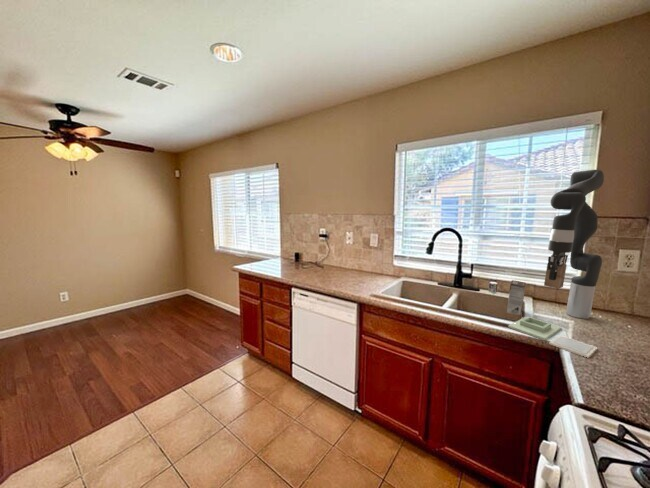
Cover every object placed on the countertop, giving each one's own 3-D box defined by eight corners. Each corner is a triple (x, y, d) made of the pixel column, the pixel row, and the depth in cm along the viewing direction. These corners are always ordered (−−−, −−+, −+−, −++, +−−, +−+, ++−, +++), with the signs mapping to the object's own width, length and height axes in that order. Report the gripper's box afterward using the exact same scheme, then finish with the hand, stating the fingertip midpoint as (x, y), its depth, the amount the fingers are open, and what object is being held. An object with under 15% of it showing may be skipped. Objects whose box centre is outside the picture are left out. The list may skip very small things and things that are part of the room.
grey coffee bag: (507, 307, 149) (511, 279, 146) (522, 310, 145) (526, 282, 142) (506, 312, 142) (510, 283, 139) (521, 315, 138) (525, 286, 135)
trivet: (559, 336, 117) (559, 334, 117) (597, 349, 107) (597, 346, 107) (548, 343, 110) (549, 341, 110) (588, 358, 100) (588, 355, 100)
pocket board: (526, 317, 136) (527, 312, 135) (561, 329, 124) (562, 323, 123) (508, 327, 125) (509, 321, 124) (544, 340, 113) (545, 333, 113)
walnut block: (548, 283, 119) (552, 262, 117) (562, 287, 115) (566, 264, 113) (543, 285, 116) (547, 263, 115) (558, 288, 112) (562, 265, 110)
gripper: (556, 238, 119) (550, 274, 122) (543, 239, 112) (537, 278, 114) (578, 240, 113) (572, 279, 115) (566, 242, 105) (559, 283, 108)
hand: (554, 278), depth 115 cm, fingers closed on walnut block, 5 cm apart
